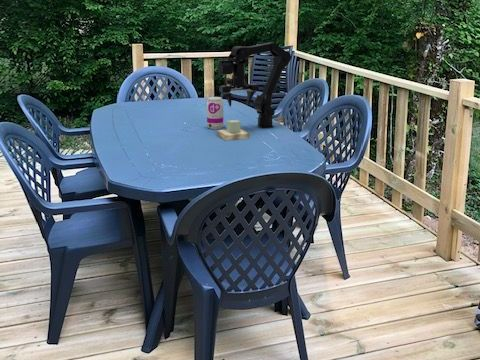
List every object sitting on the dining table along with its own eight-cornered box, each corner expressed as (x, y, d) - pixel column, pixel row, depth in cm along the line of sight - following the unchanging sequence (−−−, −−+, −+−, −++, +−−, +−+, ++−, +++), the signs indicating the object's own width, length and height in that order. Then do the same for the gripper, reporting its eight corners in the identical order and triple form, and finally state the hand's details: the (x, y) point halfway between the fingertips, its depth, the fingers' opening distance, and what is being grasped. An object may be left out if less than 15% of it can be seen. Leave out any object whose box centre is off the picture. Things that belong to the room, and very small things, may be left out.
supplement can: (221, 129, 283) (220, 99, 278) (205, 129, 284) (204, 99, 280) (225, 126, 290) (224, 96, 286) (209, 125, 292) (208, 96, 287)
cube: (236, 130, 271) (236, 119, 269) (240, 132, 266) (240, 121, 265) (226, 131, 269) (226, 120, 267) (230, 133, 265) (230, 122, 263)
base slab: (240, 134, 276) (240, 128, 275) (249, 139, 265) (249, 133, 264) (216, 136, 272) (216, 130, 271) (225, 142, 261) (225, 135, 260)
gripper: (250, 70, 284) (250, 101, 288) (214, 72, 277) (215, 104, 282) (259, 73, 274) (259, 105, 278) (222, 75, 267) (223, 108, 272)
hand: (239, 105), depth 278 cm, fingers open, 9 cm apart
